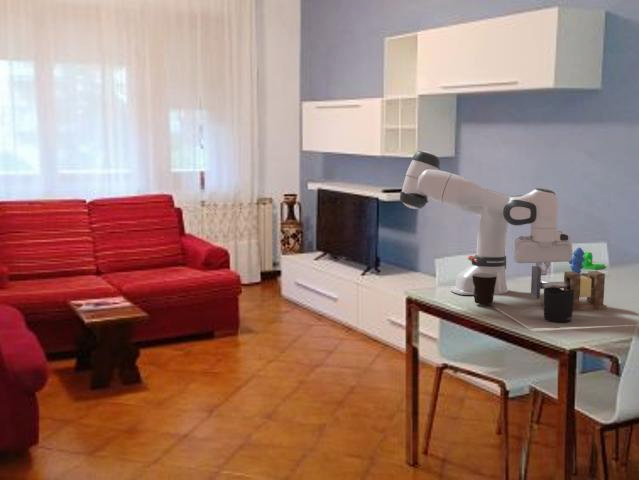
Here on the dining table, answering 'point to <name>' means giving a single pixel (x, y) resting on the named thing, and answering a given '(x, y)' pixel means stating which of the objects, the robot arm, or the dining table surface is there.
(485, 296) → the coffee mug
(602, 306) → the bearing block
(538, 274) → the shaft
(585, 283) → the spacer
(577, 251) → the grapes
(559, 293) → the pen holder
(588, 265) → the mechanical part
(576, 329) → the dining table surface
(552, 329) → the dining table surface
